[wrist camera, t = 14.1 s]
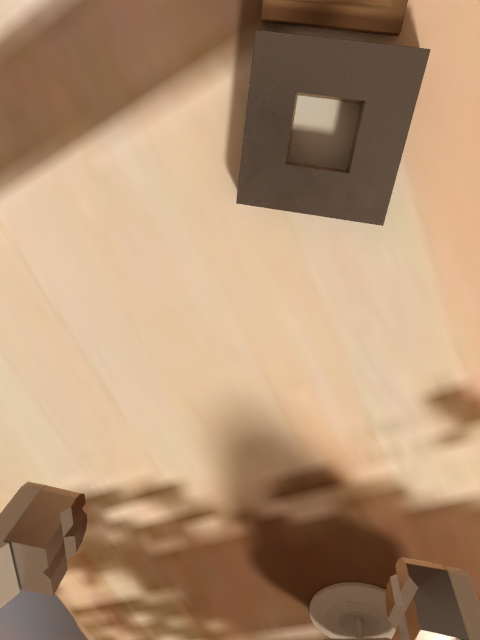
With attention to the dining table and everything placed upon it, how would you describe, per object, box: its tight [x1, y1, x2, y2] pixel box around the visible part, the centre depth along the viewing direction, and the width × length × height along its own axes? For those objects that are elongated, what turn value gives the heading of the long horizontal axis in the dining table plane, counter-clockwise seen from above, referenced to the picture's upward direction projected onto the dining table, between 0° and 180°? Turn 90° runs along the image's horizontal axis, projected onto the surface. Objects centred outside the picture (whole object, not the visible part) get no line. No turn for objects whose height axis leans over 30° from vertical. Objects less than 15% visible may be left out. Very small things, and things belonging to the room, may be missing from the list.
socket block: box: [236, 30, 430, 226], centre depth 32 cm, size 12×12×2 cm
